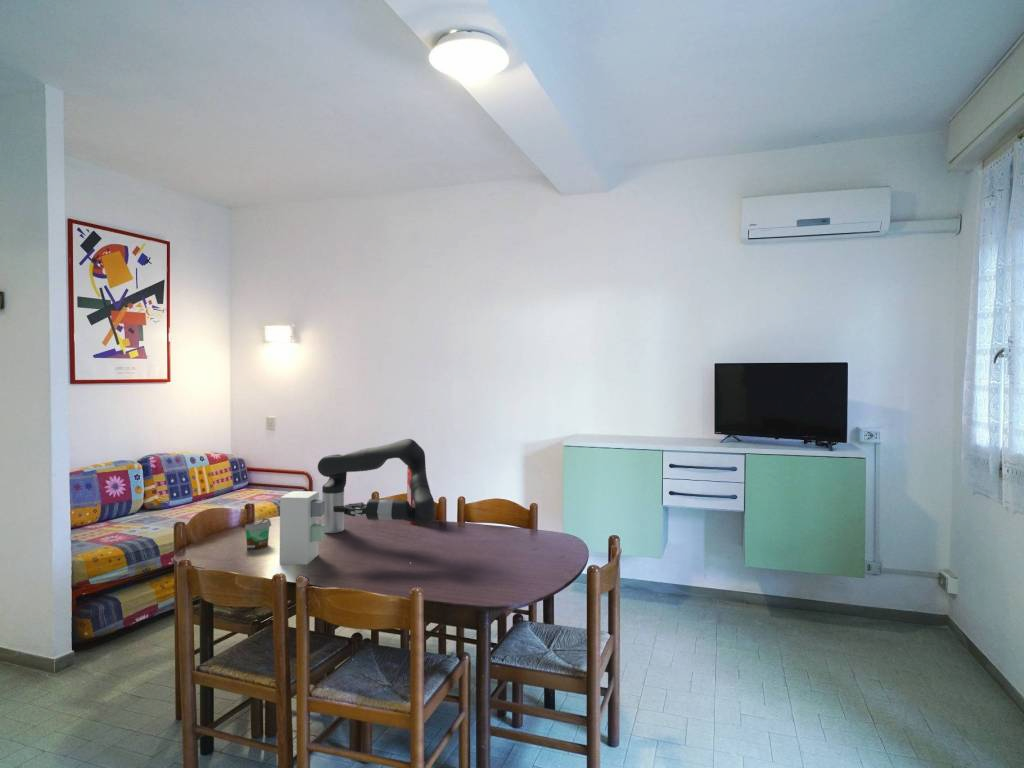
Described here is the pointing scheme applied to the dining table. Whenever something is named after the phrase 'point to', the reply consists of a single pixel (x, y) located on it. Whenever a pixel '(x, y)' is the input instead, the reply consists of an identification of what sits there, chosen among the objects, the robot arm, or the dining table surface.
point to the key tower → (297, 528)
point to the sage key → (317, 532)
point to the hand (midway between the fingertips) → (334, 508)
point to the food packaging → (409, 491)
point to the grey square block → (317, 508)
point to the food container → (257, 534)
